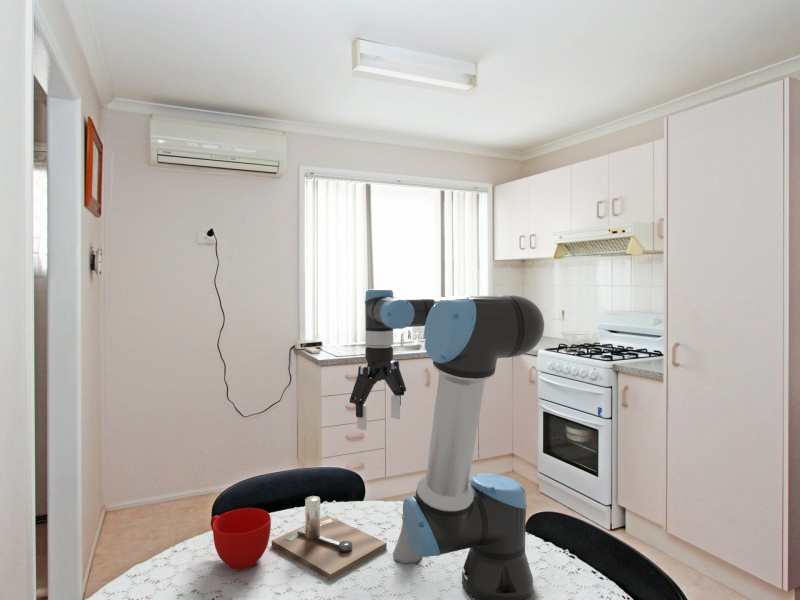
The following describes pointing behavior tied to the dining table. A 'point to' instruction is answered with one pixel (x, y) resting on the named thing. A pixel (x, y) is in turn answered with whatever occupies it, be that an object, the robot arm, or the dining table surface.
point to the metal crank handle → (314, 525)
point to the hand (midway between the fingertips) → (379, 423)
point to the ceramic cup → (241, 536)
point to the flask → (405, 548)
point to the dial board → (330, 548)
